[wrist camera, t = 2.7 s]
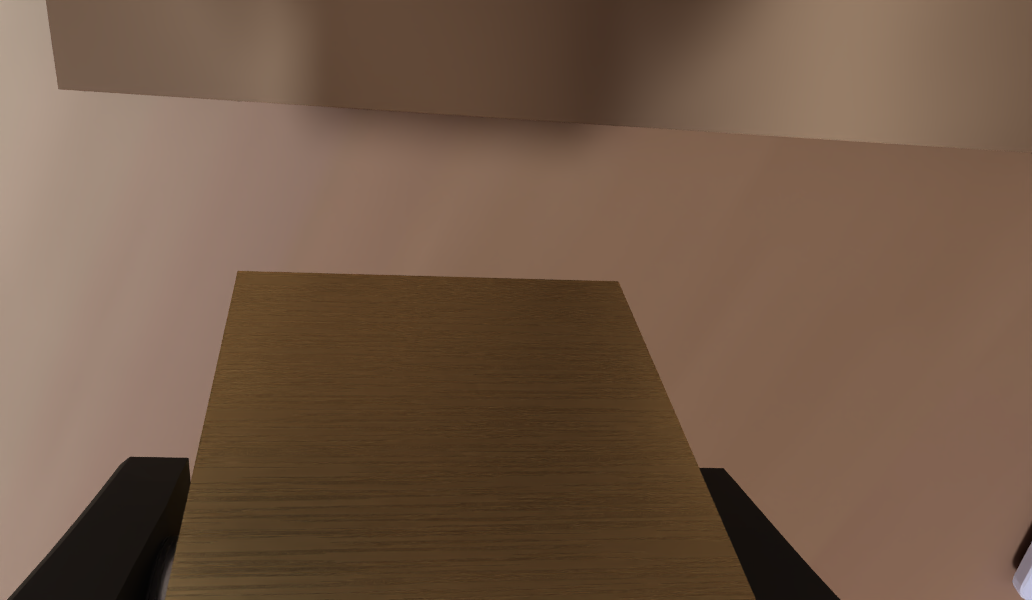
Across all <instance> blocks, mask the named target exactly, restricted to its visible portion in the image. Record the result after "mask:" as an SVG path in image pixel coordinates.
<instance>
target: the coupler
mask: <svg viewBox="0 0 1032 600" xmlns="http://www.w3.org/2000/svg"><path fill="white" fill-rule="evenodd" d="M145 600H756V599H755V596H754V594H753V592H752V589H751V587H750V585H749V582H748V580H747V578H746V575H745V573H744V571H743V569H742V566H741V564H740V562H739V559H738V557H737V555H736V552H735V550H734V548H733V545H732V543H731V541H730V539H729V536H728V534H727V532H726V529H725V527H724V525H723V522H722V520H721V518H720V515H719V513H718V511H717V508H716V506H715V504H714V502H713V499H712V497H711V495H710V492H709V490H708V488H707V485H706V483H705V481H704V478H703V476H702V474H701V472H700V469H699V467H698V465H697V462H696V460H695V458H694V455H693V453H692V451H691V448H690V446H689V444H688V441H687V439H686V437H685V435H684V432H683V430H682V428H681V425H680V423H679V421H678V418H677V416H676V414H675V411H674V409H673V407H672V405H671V402H670V400H669V398H668V395H667V393H666V391H665V388H664V386H663V384H662V381H661V379H660V377H659V374H658V372H657V370H656V368H655V365H654V363H653V361H652V358H651V356H650V354H649V351H648V349H647V347H646V344H645V342H644V340H643V338H642V335H641V333H640V331H639V328H638V326H637V324H636V321H635V319H634V317H633V314H632V312H631V310H630V307H629V305H628V303H627V301H626V298H625V296H624V294H623V291H622V289H621V287H620V284H619V282H617V281H581V280H545V279H509V278H472V277H436V276H400V275H364V274H328V273H291V272H255V271H238V272H237V276H236V281H235V285H234V290H233V294H232V299H231V303H230V308H229V312H228V317H227V322H226V326H225V331H224V335H223V340H222V344H221V349H220V353H219V358H218V362H217V367H216V371H215V376H214V380H213V385H212V389H211V394H210V398H209V403H208V407H207V412H206V416H205V421H204V425H203V430H202V434H201V439H200V443H199V448H198V452H197V457H196V461H195V466H194V470H193V475H192V479H191V484H190V488H189V493H188V497H187V502H186V506H185V511H184V515H183V520H182V524H181V529H180V533H179V536H168V537H166V538H165V539H164V540H163V542H162V544H161V546H160V548H159V550H158V553H157V556H156V559H155V562H154V565H153V568H152V572H151V576H150V580H149V585H148V589H147V594H146V599H145Z"/></svg>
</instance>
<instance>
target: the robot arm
mask: <svg viewBox="0 0 1032 600" xmlns="http://www.w3.org/2000/svg"><path fill="white" fill-rule="evenodd" d="M699 469H700V472H701V474H702V476H703V478H704V481H705V483H706V485H707V488H708V490H709V492H710V495H711V497H712V499H713V502H714V504H715V506H716V508H717V511H718V513H719V515H720V518H721V520H722V522H723V525H724V527H725V529H726V532H727V534H728V536H729V539H730V541H731V543H732V545H733V548H734V550H735V552H736V555H737V557H738V559H739V562H740V564H741V566H742V569H743V571H744V573H745V575H746V578H747V580H748V582H749V585H750V587H751V589H752V592H753V594H754V596H755V599H756V600H840V599H839V598H838V597H837V596H836V595H835V594H834V592H833V591H832V590H831V589H830V588H829V587H828V586H827V585H826V584H825V583H824V582H823V581H822V580H821V578H820V577H819V576H818V575H817V574H816V573H815V572H814V571H813V570H812V569H811V567H810V566H809V565H808V564H807V563H806V562H805V561H804V560H803V559H802V557H801V556H800V555H799V554H798V553H797V552H796V551H795V550H794V548H793V547H792V546H791V545H790V544H789V543H788V542H787V540H786V539H785V538H784V537H783V536H782V535H781V534H780V533H779V531H778V530H777V529H776V528H775V527H774V526H773V524H772V523H771V522H770V521H769V520H768V519H767V518H766V516H765V515H764V514H763V513H762V512H761V511H760V510H759V508H758V507H757V506H756V505H755V504H754V503H753V501H752V500H751V499H750V498H749V497H748V496H747V495H746V493H745V492H744V491H743V490H742V489H741V488H740V486H739V485H738V484H737V483H736V482H735V481H734V480H733V478H732V477H731V476H730V475H729V474H728V473H727V472H726V471H725V470H724V468H699ZM190 484H191V482H190V470H189V459H188V458H165V457H129V458H128V459H127V460H125V461H124V462H123V463H122V464H120V466H119V467H118V468H117V469H116V471H115V472H114V473H113V475H112V476H111V477H110V478H109V480H108V481H107V482H106V484H105V485H104V486H103V487H102V489H101V490H100V491H99V492H98V494H97V495H96V496H95V498H94V499H93V500H92V501H91V503H90V504H89V505H88V506H87V508H86V509H85V510H84V511H83V512H82V514H81V515H80V516H79V517H78V519H77V520H76V521H75V522H74V523H73V525H72V526H71V527H70V528H69V529H68V531H67V532H66V533H65V534H64V535H63V537H62V538H61V539H60V540H59V541H58V543H57V544H56V545H55V546H54V547H53V549H52V550H51V551H50V552H49V553H48V554H47V556H46V557H45V558H44V559H43V560H42V561H41V562H40V563H39V565H38V566H37V567H36V568H35V569H34V570H33V571H32V572H31V574H30V575H29V576H28V577H27V578H26V579H25V580H24V581H23V583H22V584H21V585H20V586H19V587H18V588H17V589H16V590H15V592H14V593H13V594H12V595H11V596H10V597H9V598H8V599H7V600H145V599H146V594H147V589H148V585H149V580H150V576H151V572H152V568H153V565H154V562H155V559H156V556H157V553H158V550H159V548H160V546H161V544H162V542H163V540H164V539H165V538H166V537H168V536H179V533H180V529H181V524H182V520H183V515H184V511H185V506H186V502H187V497H188V493H189V488H190ZM1012 582H1013V585H1014V587H1015V588H1016V590H1017V591H1018V593H1019V594H1020V596H1021V597H1022V598H1024V599H1025V600H1032V542H1031V544H1030V546H1029V548H1028V550H1027V552H1026V554H1025V556H1024V557H1023V559H1022V561H1021V563H1020V565H1019V567H1018V569H1017V571H1016V573H1015V575H1014V577H1013V581H1012Z"/></svg>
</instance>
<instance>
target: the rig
mask: <svg viewBox="0 0 1032 600" xmlns="http://www.w3.org/2000/svg"><path fill="white" fill-rule="evenodd" d="M46 4H47V12H48V19H49V26H50V33H51V40H52V47H53V54H54V61H55V68H56V75H57V82H58V89H63V90H79V91H94V92H109V93H124V94H140V95H155V96H170V97H186V98H201V99H216V100H231V101H247V102H262V103H277V104H293V105H308V106H323V107H338V108H354V109H369V110H384V111H399V112H415V113H430V114H445V115H461V116H476V117H491V118H506V119H522V120H537V121H552V122H568V123H583V124H598V125H613V126H629V127H644V128H659V129H675V130H690V131H705V132H720V133H736V134H751V135H766V136H781V137H797V138H812V139H827V140H843V141H858V142H873V143H888V144H904V145H919V146H934V147H950V148H965V149H980V150H995V151H1011V152H1026V153H1032V0H46Z"/></svg>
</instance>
